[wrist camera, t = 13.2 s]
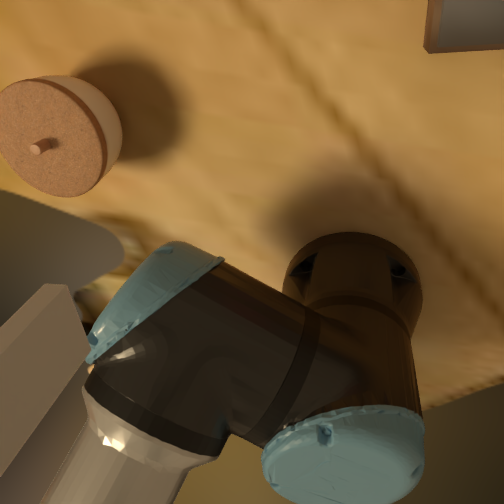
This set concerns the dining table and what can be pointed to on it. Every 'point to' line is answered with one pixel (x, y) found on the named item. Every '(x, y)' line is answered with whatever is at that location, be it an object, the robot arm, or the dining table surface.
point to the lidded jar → (59, 133)
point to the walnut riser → (464, 26)
